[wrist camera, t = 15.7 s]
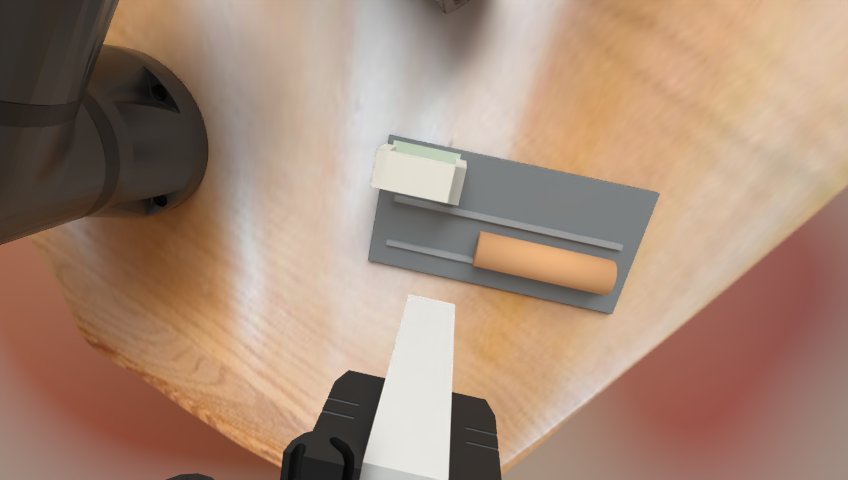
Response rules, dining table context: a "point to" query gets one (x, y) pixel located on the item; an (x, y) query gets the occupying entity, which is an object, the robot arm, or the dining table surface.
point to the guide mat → (511, 222)
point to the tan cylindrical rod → (545, 263)
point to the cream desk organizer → (418, 175)
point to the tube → (450, 4)
